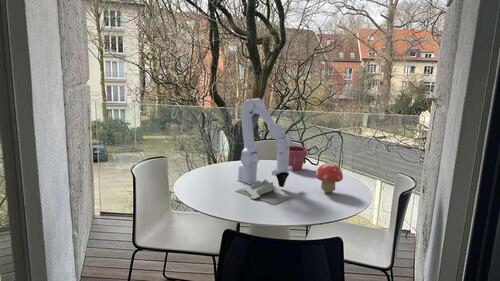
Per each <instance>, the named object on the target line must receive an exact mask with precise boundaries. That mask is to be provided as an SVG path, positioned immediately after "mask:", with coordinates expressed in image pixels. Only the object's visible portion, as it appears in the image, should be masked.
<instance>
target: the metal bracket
mask: <svg viewBox="0 0 500 281" xmlns="http://www.w3.org/2000/svg"><path fill="white" fill-rule="evenodd" d="M250 186H251V187H250ZM250 186H249V185H247V186H244V187H243V188H242V189H243V191H247V192H248V193H249V194H250V195H251V197H250V196H249V198H250V199H252V200H253V199H254V200H255V199H256V198H258V197H260V195H261V194H263V193H266V192H268V191H272V192H273V193H274V192H275V190H276V189H277V187H276V186H275V185H274V182H273V181H272V182H269V181H268V180H267V179H264V180H262V181H259V182H256V183H253V184H250ZM256 200H257V199H256Z"/></svg>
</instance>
